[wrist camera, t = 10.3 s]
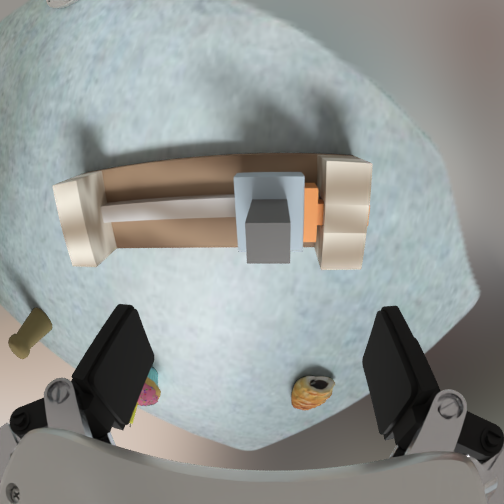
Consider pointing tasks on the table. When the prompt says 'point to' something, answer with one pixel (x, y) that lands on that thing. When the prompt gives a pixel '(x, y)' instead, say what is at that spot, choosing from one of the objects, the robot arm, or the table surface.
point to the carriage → (269, 215)
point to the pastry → (311, 392)
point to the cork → (30, 333)
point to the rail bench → (192, 184)
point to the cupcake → (148, 392)
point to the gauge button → (312, 212)
